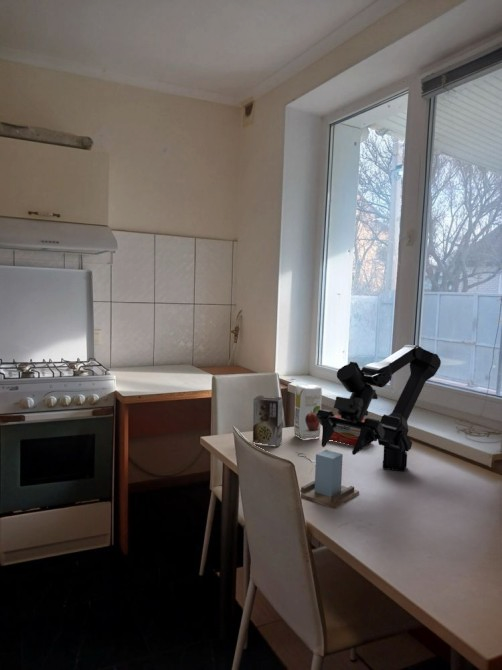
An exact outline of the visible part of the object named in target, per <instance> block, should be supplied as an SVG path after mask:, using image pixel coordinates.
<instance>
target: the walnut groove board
mask: <svg viewBox="0 0 502 670" xmlns="http://www.w3.org/2000/svg"><path fill="white" fill-rule="evenodd" d="M314 490H315V480H313V481H311V482H309V483H307V484H305V485H303V486H301V487H300V492H301V497H300V498H303V499H305V498H306V500H308V499H309V501H312V502H314V503H318V504H320V505H323V506H327V507H329V508H333V509H337V508H338V507H340V506H341V505H343V504H345V503H346V502H348V501H349V500H351V499H353V498H354V497H356V496H357V495H359V494H360V490H357V489H355V486H353V485H350V486H345V485H341V492H339V493H337V494H336V495H334V496H332V497H329V496H326V495H323V494H320V493H317V492H314Z"/></svg>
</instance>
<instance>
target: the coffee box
mask: <svg viewBox="0 0 502 670" xmlns="http://www.w3.org/2000/svg"><path fill="white" fill-rule="evenodd" d="M283 398H284V397H282V396H281V397H279V396H269V395H257V396H256V397H254V398H253V399H252V401H253V410H252V411H253V412H252V413H253V414H252V416H253V417H252V419H253V420H252V443H253V442H255V443H262V444H268V445H275V446H278V445H279V444H280V443H281V442H282V443H283V414H284V411H283V407H284V405H283V403H284V399H283ZM282 443H281V444H282ZM281 444H280V445H281ZM280 445H279V446H280ZM279 446H278V447H279Z"/></svg>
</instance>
